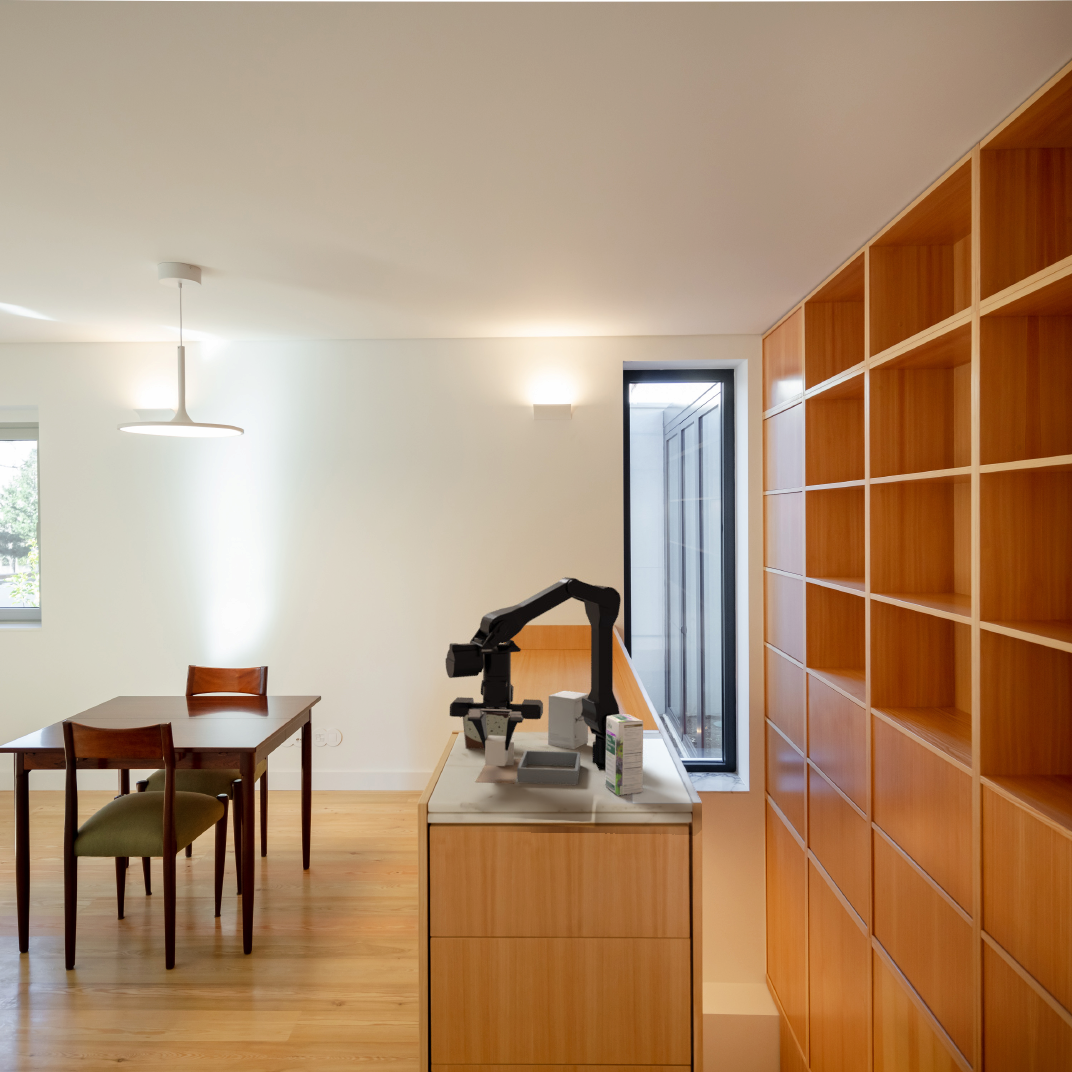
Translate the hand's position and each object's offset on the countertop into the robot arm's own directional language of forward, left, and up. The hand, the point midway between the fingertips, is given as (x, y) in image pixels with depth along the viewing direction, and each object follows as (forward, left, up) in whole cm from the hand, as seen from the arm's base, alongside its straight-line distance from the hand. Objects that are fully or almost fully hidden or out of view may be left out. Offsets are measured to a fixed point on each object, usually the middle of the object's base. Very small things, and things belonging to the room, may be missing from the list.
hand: (496, 749), depth 147 cm
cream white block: (0, -10, -6) cm, 12 cm away
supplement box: (-13, -27, -7) cm, 30 cm away
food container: (+6, -23, -7) cm, 24 cm away
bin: (-11, -4, -7) cm, 13 cm away
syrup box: (-26, +1, -7) cm, 27 cm away
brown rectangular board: (0, -5, -7) cm, 8 cm away
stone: (0, 0, -3) cm, 3 cm away
